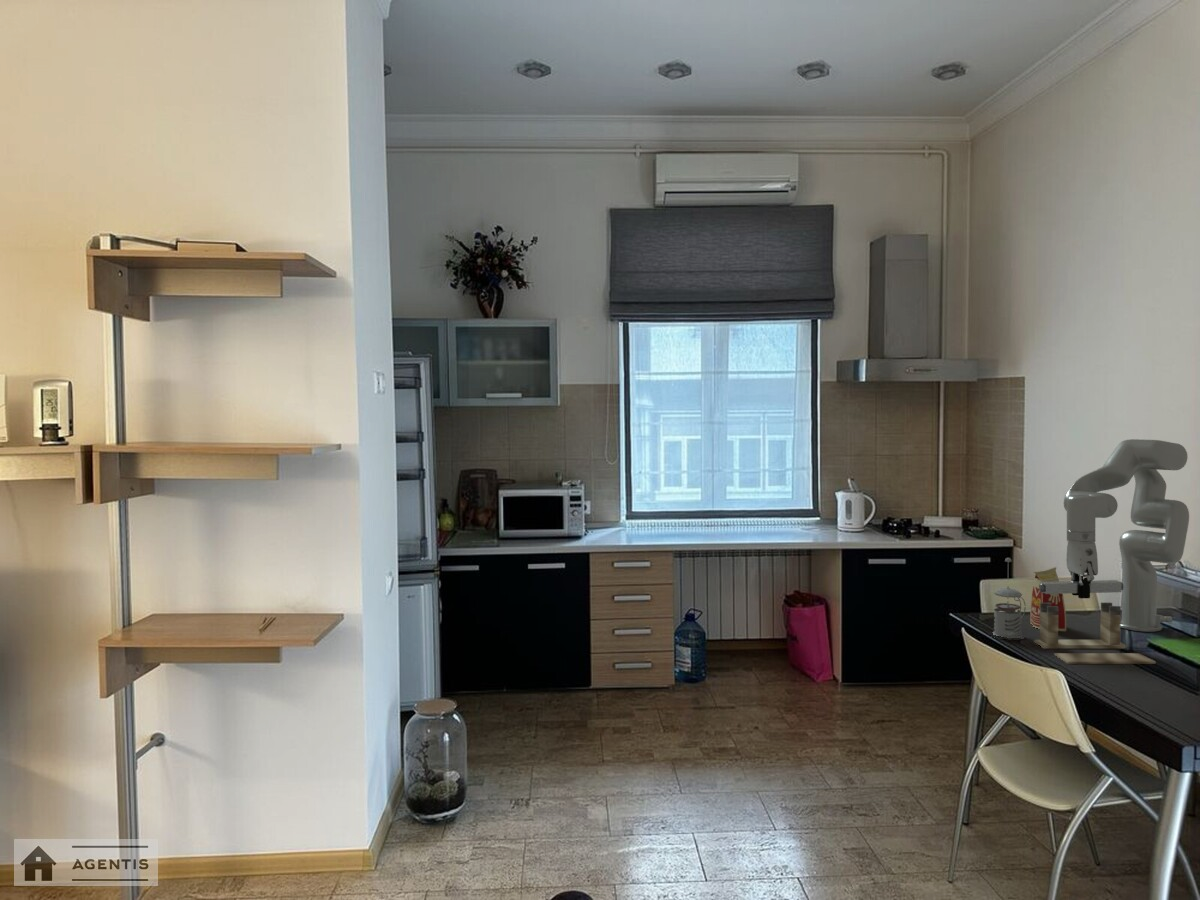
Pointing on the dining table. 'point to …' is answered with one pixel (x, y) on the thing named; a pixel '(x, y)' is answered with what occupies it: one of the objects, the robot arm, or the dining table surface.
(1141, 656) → the wooden board
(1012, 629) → the french press
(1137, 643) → the dining table surface
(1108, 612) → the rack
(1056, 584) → the rail
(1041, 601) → the milk carton
